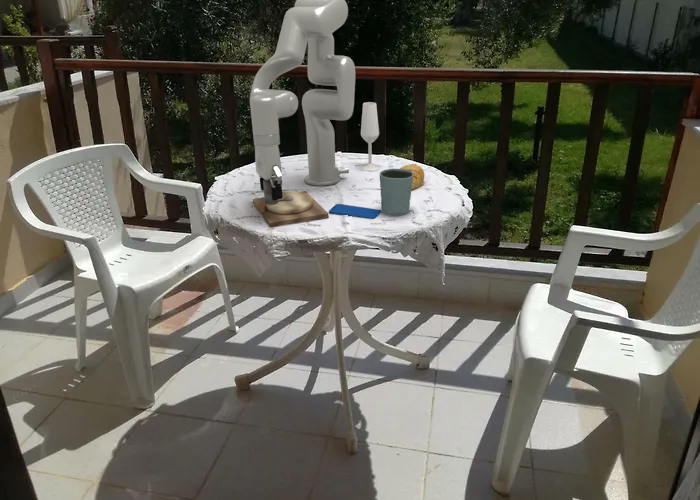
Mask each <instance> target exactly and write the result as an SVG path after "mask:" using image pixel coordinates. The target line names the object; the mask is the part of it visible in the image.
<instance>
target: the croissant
mask: <svg viewBox="0 0 700 500" xmlns="http://www.w3.org/2000/svg"><path fill="white" fill-rule="evenodd" d="M399 169H405V170H409V171H411V172H413V174H414V176H413V182H412V189H411V191H412V190H415V189H418V188H420V187H422V186H423V185H424V180H425V171H424V169H423V168H422V167H421V166H420V165H418V164H414V163H410V164H406V165H403V166H401V167H400V168H399Z"/></svg>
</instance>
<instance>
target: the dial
mask: <svg viewBox="0 0 700 500" xmlns="http://www.w3.org/2000/svg"><path fill="white" fill-rule="evenodd" d="M273 181H274V183H275V180H273ZM263 186H264V190H263V194H264V195H263V197H264V198H265V200H264V205H265V209H266V210H268V211H270V212H273V213H278V214H293V213H299V212H303V211H306V210H308V209H310V208H311V207H312V206H313V199H314V197H313V196H312V194H310V193H308V192H307V193H308V194H307V193H304V192H302V191H296V190H295V191H293V190H292V191H291V190H289V191H282V194H283V198H282V199H279V200H272V192H271V187H272V184H271V181H270V179H269V180H263Z"/></svg>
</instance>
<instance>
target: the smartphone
mask: <svg viewBox="0 0 700 500" xmlns="http://www.w3.org/2000/svg"><path fill="white" fill-rule="evenodd" d="M329 213H330V215H334V214H335V216H342V215H348V216H347V217H350V216H352V218H359V219H367V220H375V219H376V218H377V217H378V216H379V215H380V214H381V213H382V210H381V209H377V208H371V207H370V208H369V207H363V206H357V205H349V204H341V203H337V204H334V206H333V207H331V208H330V209H329V210H328V214H329Z"/></svg>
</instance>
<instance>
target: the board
mask: <svg viewBox="0 0 700 500" xmlns="http://www.w3.org/2000/svg"><path fill="white" fill-rule="evenodd" d="M301 192H304V193H307V194H309V192H308V191H306V190H304V191H301ZM264 200H265V198H264V196H263V197H256V198H252V201H251V202H252V205H254V207H255V209H256V210H257V211H258V213H259V214H260V215H261V217H262V219H263V220H264V221H265V222H266V224H267V225H268V226H269V228H276V227H282V226H289V225H294V224H300V223H306V222H314V221H318V220H323V219H329V216H330V215H329V211H327V210H325V208H324V207H323V206H322V205H321V204H320V203H319V202H318V201H316V200H315V198H313V206H312V207H311V208H310V209H308V210H306V211H303V212H299V213H293V214H278V213H273V212H270V211H268V210H266V209H265V205H264Z"/></svg>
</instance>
